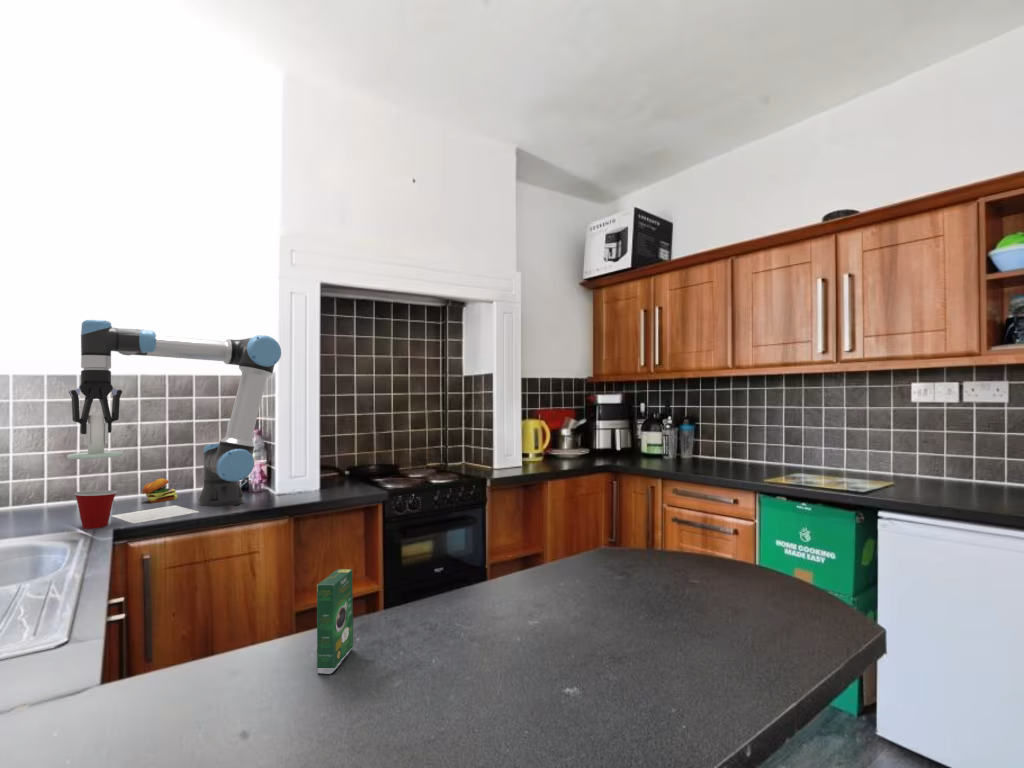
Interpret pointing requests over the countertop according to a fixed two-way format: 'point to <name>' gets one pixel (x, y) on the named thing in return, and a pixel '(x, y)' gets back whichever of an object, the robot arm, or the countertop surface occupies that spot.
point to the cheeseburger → (159, 491)
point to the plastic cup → (95, 507)
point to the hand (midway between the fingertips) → (96, 444)
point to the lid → (96, 441)
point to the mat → (154, 514)
